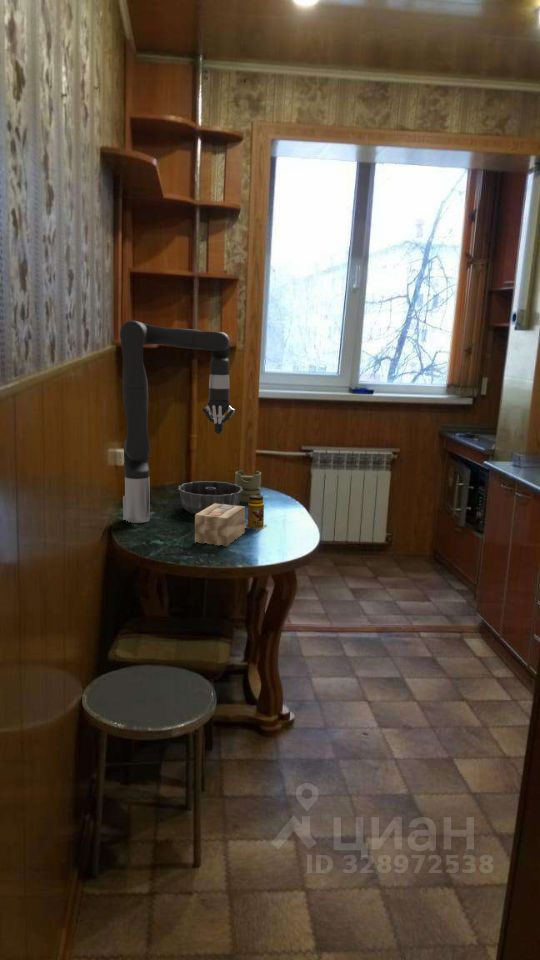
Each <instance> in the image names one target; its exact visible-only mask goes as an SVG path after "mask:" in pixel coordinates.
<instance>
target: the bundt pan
mask: <svg viewBox="0 0 540 960" xmlns="http://www.w3.org/2000/svg"><path fill="white" fill-rule="evenodd" d="M178 491H179V495H180V496H179V497H180V503H181V506H182V508H183V509H184V510H185V511H187V512H189V513H190V514H197V513H199V512H201V511H202V510H204V509H206V508H208V507H209V506H211V505H213V504H215V503H216V504H225V505H235V506H240V503H241V502H240V499H241V494H242V492H243V490H242V487H240V486H237V485H236V484H235V483H230V482H225V481H216V480H214V481H207V480H205V481H203V480H201V481H191V482H186V483H182V484H181V485H178Z"/></svg>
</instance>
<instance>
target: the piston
mask: <svg viewBox="0 0 540 960" xmlns="http://www.w3.org/2000/svg"><path fill="white" fill-rule="evenodd" d="M234 474H235V476H234V477H235V480H234V484H236V485H237V486H240V487H242V490H243V492H242V494H241V499H240V501H242V502H241V503H249V500H250V498H249V497H250V496H251V495H261V492H262V490H261V486H262V472H261V471H259V470H256V471H255V473H254V474H253V475H247V474H246V473H245V472H244V470H237V471H235V473H234ZM261 496H262V495H261Z"/></svg>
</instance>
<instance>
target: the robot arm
mask: <svg viewBox="0 0 540 960" xmlns="http://www.w3.org/2000/svg"><path fill="white" fill-rule="evenodd" d="M119 337H120V345H121V352H122V401H123V407H124V413H125V417H126V424H127V425H126V426H127V427H126V428H127V429H126V430H127V431H126V438H125V440H124V443H123V465H124V495H123V496H122V513H123V516H122V519H123V520H126V521H125V522H127V521H128V522H127V523H130V522H131V524H141V523H147V522H149V521H150V517H151V516H150V515H151V513H150V511H151V509H150V508H151V506H150V505H151V504H150V498H151V497H150V494H151V493H150V492H151V491H150V485H151V484H150V466H149V465H150V464H149V454H150V452H151V446H150V445H151V444H150V439H149V430H148V416H149V414H148V412H149V382H148V377H147V376H148V375H147V372H146V368H145V364H144V346H145V345H146V346H147V345H162V346H163V345H164V346H169V347H175V348H181V349H189V350H205V351H211V360H210V362H209V380H208V381H209V382H208V403H207V405H206V406H205V407H203V408H202V411H203V413H204V414H205V416H206V417H207V419H208V420H209V422H210V423H211V422H212V423H213V424H214V433H215V434H216V435H217V434H218V435H220V434H222V432H224V423H228V422H229V421H230V419H231V418H232V417H233V415H234V414H235V413H236V409H235V408H232V406H231V403H230V382H231V381H230V361H229V360H230V354H231V338H230V337H229V335H228V333H225V332H223V331H205V330H204V331H203V330H201V329H200V330H199V329H193V328H192V329H191V328H182V327H181V328H177V327H176V328H175V327H174V328H173V327H160V326H155V325H151V324H150V325H149V324H147V323H144V322H141V321H138V320H128V321H126V322H124V324H122V325H121V328H120V330H119ZM226 413H227V414H226ZM225 414H226V415H225Z"/></svg>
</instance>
